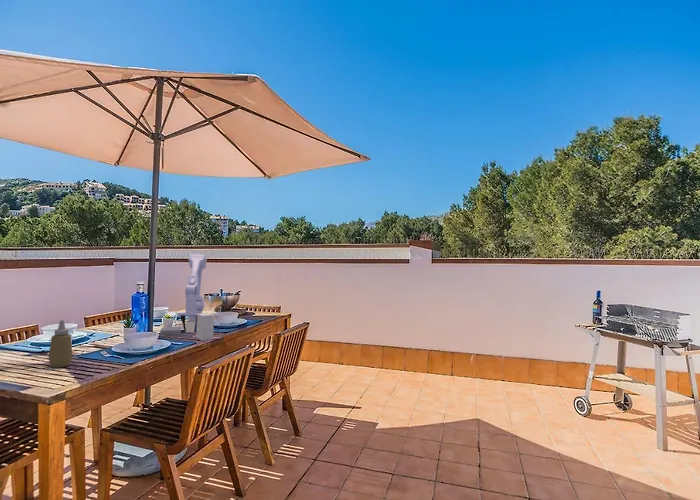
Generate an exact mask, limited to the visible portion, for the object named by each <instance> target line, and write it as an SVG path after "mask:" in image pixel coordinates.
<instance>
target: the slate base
mask: <svg viewBox="0 0 700 500" xmlns="http://www.w3.org/2000/svg"><path fill="white" fill-rule="evenodd" d="M159 331H160V332H159V333H160V334H159V336H180V335H181V332H182V327H181V326H167V327H166V326H165V327H164V326H163V327H161V328H160V330H159Z"/></svg>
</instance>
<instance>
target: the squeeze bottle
mask: <svg viewBox="0 0 700 500" xmlns="http://www.w3.org/2000/svg"><path fill="white" fill-rule="evenodd" d="M69 330H70V329H68V328H66V325H65V320H64V319H62V320H60V321H59V324H58V328H57V329H54V335H52V336H51V339H50V346H49V351H48V360H49V363H50V367H51V368H57V369H58V368H65V367H68V366H69V365H70V363H71V361H72V359H73V346H72V335H70V334H69V332H70V331H69Z"/></svg>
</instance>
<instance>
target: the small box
mask: <svg viewBox="0 0 700 500" xmlns="http://www.w3.org/2000/svg"><path fill="white" fill-rule="evenodd" d="M201 313H202V314H197V329H196V333H195V335H196V336H195V338H196V339H198V340H200V341H209V340H210V341H211V340H214V325H215V324H214V322H215V321H214V319H215V315H214V314H212V313H208V312H207V313H205V312H201Z"/></svg>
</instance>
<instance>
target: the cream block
mask: <svg viewBox="0 0 700 500" xmlns="http://www.w3.org/2000/svg"><path fill="white" fill-rule="evenodd" d="M194 326H195V321H188V320H185V333H195V328H194Z"/></svg>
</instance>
